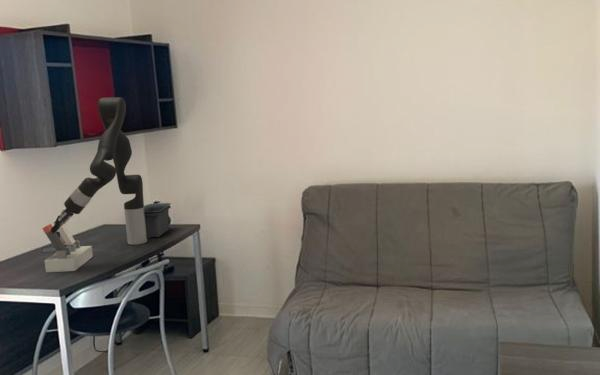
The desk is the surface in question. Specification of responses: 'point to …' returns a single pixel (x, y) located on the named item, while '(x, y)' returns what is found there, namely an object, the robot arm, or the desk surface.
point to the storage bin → (156, 219)
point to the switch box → (69, 258)
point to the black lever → (54, 238)
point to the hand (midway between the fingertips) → (52, 231)
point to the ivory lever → (66, 235)
